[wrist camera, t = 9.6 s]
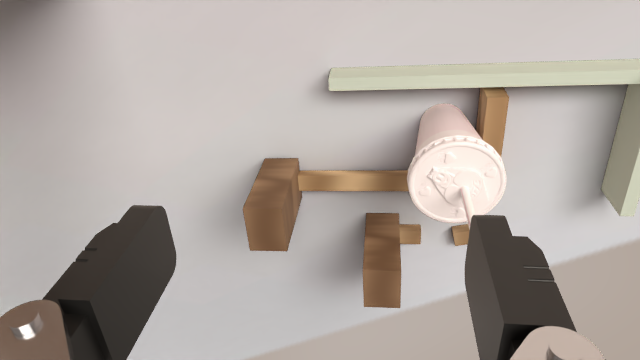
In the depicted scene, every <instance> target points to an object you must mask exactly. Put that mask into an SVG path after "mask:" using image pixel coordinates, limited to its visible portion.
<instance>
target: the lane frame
mask: <svg viewBox="0 0 640 360" xmlns="http://www.w3.org/2000/svg"><path fill="white" fill-rule="evenodd" d="M328 80H329V91H352V90H395V89H438V88H480V87H523V86H566V85H609V84H628V87H627V91H626V95H625V99H624V103H623V107H622V110H621V114H620V118H619V122H618V126H617V130H616V134H615V137H614V141H613V145H612V149H611V153H610V157H609V160H608V164H607V168H606V172H605V176H604V180H603V184H602V187H601V190H602V192H603V193H604V194H605V196H606V197H607V199H608V200H609V201H610V203H611V204H612V206H613V207H614V209H615V210H616V211H617V213H618V214H619V216H634V214H635V210H636V207H637V204H638V201H639V197H640V59H618V60H584V61H550V62H517V63H483V64H449V65H416V66H382V67H348V68H331V71H330V75H329V78H328Z"/></svg>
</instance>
